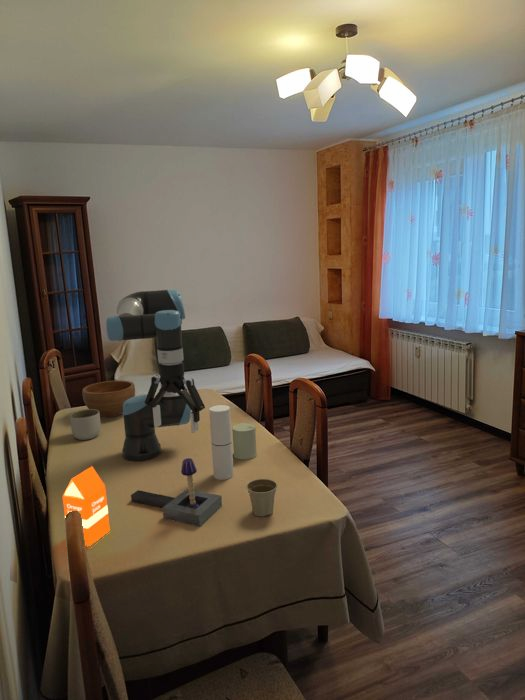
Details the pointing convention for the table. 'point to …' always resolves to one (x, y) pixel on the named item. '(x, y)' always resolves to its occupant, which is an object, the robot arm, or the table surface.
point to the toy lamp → (190, 480)
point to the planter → (85, 424)
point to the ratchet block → (181, 505)
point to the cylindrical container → (221, 442)
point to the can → (244, 441)
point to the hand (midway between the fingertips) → (176, 428)
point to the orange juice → (88, 504)
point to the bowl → (108, 396)
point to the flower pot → (262, 496)
